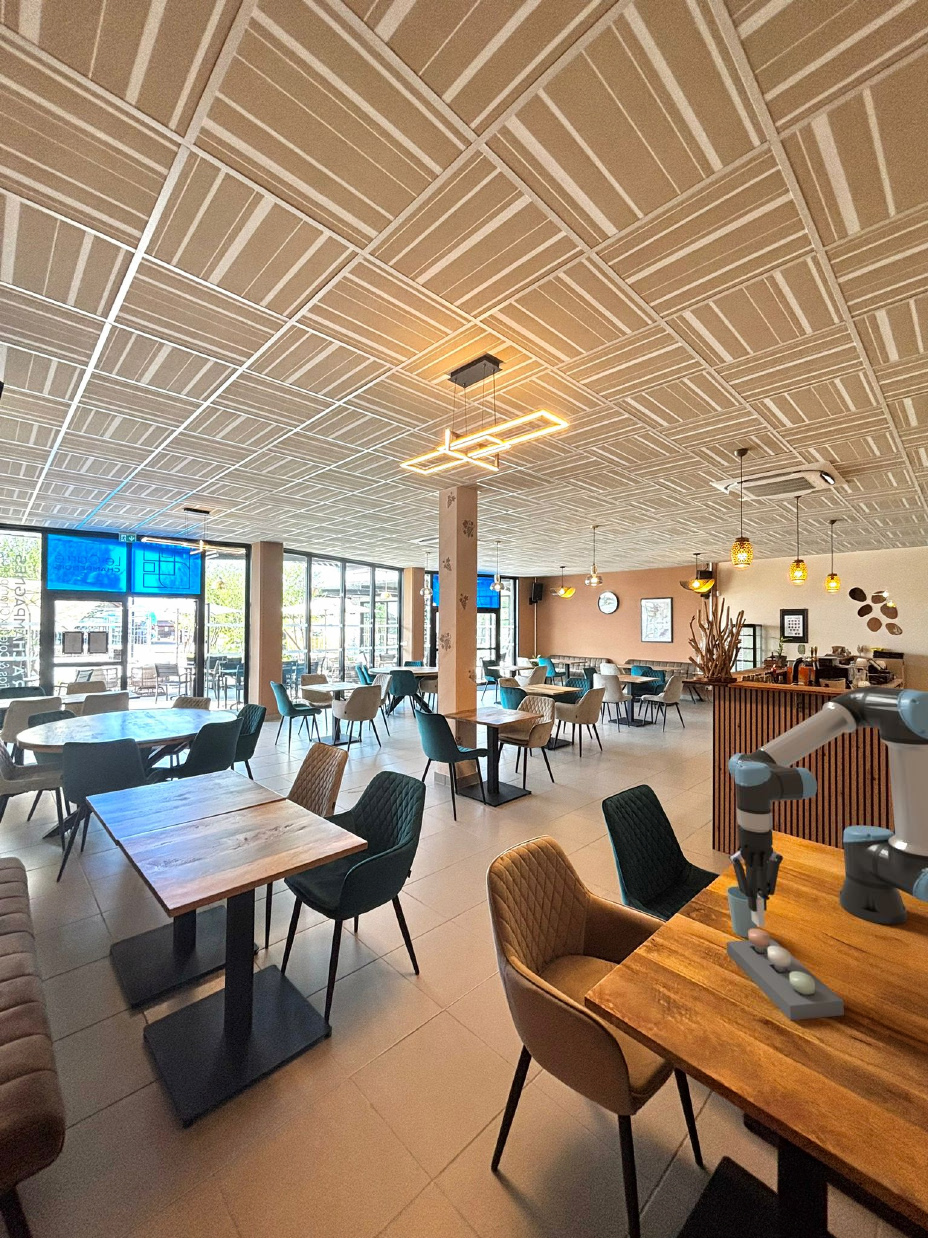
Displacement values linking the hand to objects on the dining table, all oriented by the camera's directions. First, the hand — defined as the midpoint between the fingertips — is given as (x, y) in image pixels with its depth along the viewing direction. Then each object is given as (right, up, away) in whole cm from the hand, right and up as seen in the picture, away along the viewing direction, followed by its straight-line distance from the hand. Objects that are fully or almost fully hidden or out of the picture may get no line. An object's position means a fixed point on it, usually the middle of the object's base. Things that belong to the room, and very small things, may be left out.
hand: (758, 923), depth 124 cm
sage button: (+2, -7, -14) cm, 16 cm away
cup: (+3, -10, +12) cm, 16 cm away
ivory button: (+1, -6, -7) cm, 9 cm away
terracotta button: (0, -7, 0) cm, 7 cm away
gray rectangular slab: (+1, -9, -7) cm, 12 cm away
